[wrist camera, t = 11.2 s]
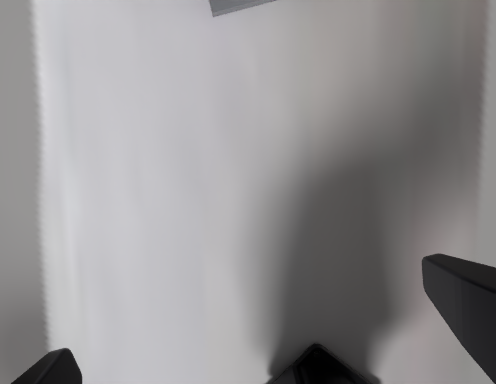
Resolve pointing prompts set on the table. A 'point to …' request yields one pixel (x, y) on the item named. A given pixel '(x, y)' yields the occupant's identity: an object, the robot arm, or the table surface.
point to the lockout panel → (233, 5)
